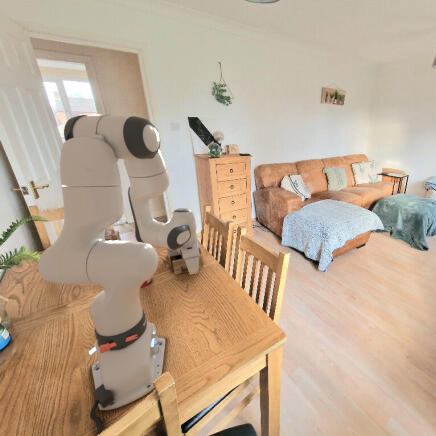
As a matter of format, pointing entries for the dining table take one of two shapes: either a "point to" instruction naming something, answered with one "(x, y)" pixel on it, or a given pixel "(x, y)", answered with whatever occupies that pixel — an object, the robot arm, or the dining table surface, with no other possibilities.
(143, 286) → the brown post red base
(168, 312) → the dining table surface
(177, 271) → the drawer
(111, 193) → the robot arm
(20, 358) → the dining table surface
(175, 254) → the cabinet
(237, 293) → the dining table surface
